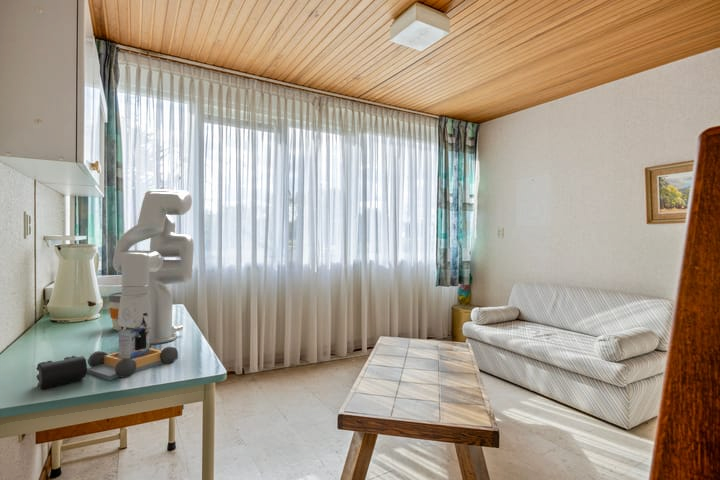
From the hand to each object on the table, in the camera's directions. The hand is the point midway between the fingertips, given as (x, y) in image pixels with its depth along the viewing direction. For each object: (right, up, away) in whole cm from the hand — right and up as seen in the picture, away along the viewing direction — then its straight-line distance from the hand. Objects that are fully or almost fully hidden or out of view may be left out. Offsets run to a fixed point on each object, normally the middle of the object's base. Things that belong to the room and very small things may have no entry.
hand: (134, 347), depth 120 cm
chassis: (0, -6, 0) cm, 6 cm away
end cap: (-11, -6, -15) cm, 20 cm away
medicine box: (0, -3, 0) cm, 3 cm away
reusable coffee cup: (-32, -5, +47) cm, 57 cm away
